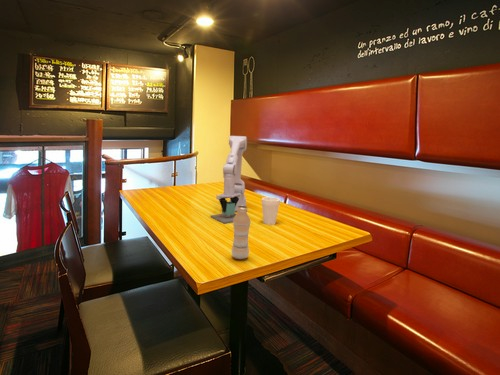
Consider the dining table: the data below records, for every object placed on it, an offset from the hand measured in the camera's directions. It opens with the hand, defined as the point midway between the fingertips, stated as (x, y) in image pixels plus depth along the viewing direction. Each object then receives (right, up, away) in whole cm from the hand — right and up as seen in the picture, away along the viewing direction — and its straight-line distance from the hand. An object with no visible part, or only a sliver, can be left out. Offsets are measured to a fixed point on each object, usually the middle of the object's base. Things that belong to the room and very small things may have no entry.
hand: (228, 211), depth 172 cm
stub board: (0, -4, +1) cm, 4 cm away
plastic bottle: (+8, -14, -51) cm, 53 cm away
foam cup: (+22, -6, -4) cm, 23 cm away
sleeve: (0, -1, 0) cm, 1 cm away
